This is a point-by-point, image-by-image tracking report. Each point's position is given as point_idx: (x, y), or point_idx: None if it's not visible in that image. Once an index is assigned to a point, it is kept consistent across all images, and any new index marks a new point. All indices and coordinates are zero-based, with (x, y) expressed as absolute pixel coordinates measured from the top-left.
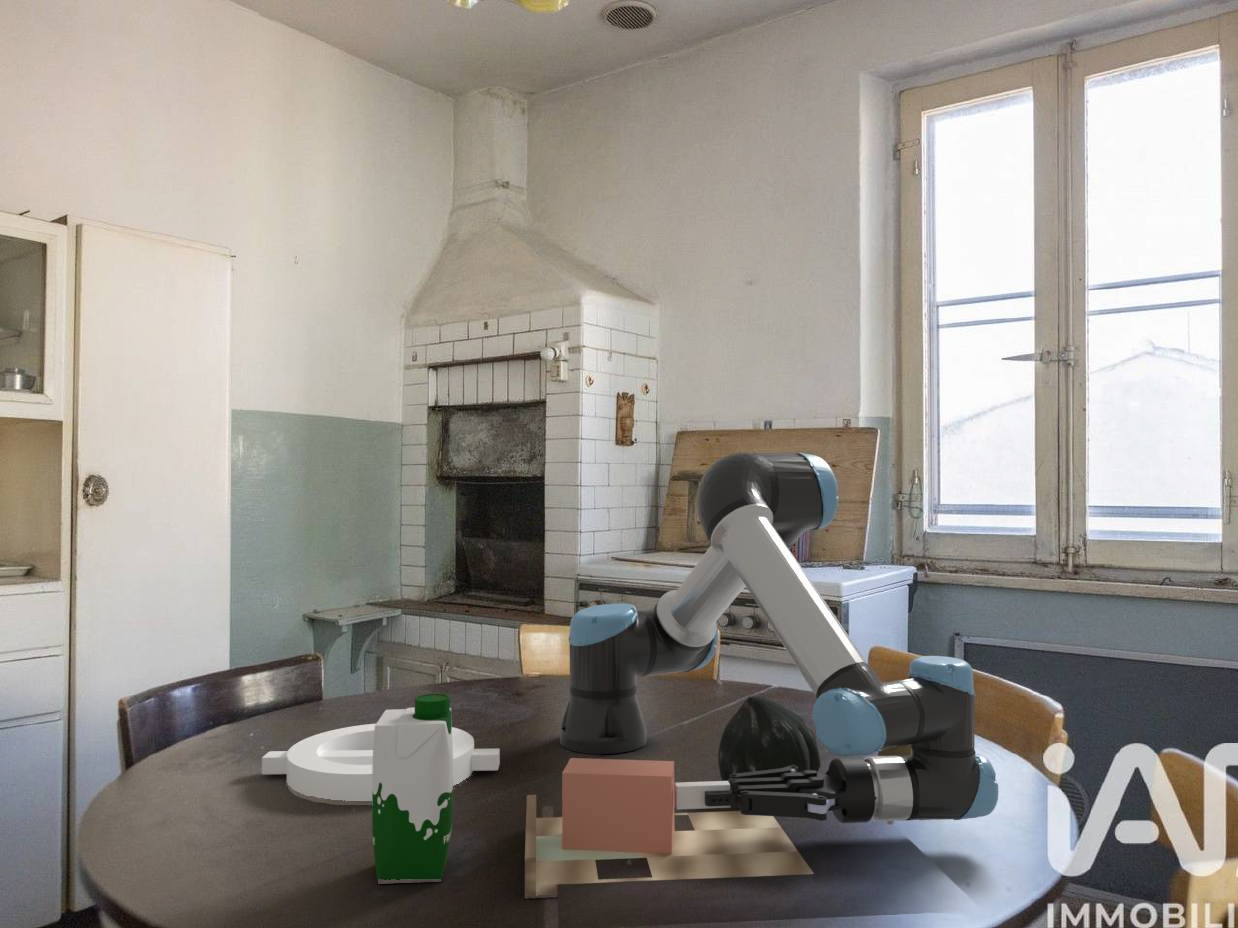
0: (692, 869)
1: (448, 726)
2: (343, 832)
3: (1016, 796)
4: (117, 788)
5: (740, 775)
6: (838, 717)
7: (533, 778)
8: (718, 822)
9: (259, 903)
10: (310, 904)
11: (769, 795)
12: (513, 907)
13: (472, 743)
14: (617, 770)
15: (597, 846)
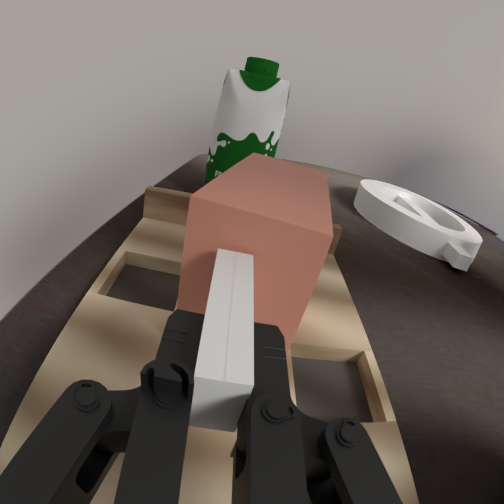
0: (91, 349)
1: (244, 78)
2: None
3: None
4: (351, 173)
5: (349, 462)
6: None
7: (460, 291)
8: None
9: (202, 166)
10: (192, 173)
11: (7, 468)
12: (134, 218)
13: (460, 239)
14: (258, 173)
15: None
